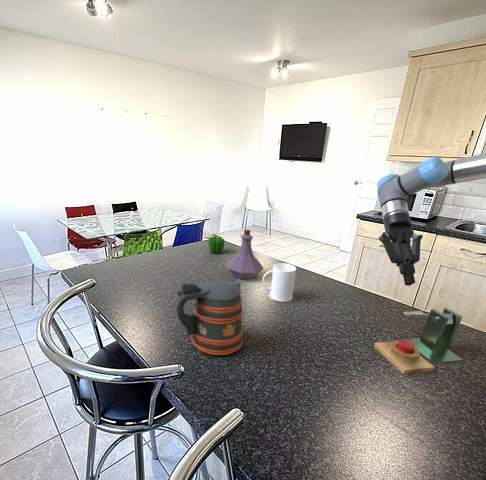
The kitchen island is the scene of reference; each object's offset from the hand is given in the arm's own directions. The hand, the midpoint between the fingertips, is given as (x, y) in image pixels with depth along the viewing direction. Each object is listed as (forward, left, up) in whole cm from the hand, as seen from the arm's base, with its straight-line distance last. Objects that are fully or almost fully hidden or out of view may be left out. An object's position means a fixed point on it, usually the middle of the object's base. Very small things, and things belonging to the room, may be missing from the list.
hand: (410, 284), depth 88 cm
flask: (+39, -44, -14) cm, 61 cm away
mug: (+32, -23, -14) cm, 42 cm away
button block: (+12, +16, -14) cm, 25 cm away
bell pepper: (+46, -75, -14) cm, 89 cm away
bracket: (+1, +14, -14) cm, 20 cm away
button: (+12, +16, -11) cm, 23 cm away
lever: (+1, +10, -6) cm, 12 cm away
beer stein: (+61, +2, -14) cm, 63 cm away
